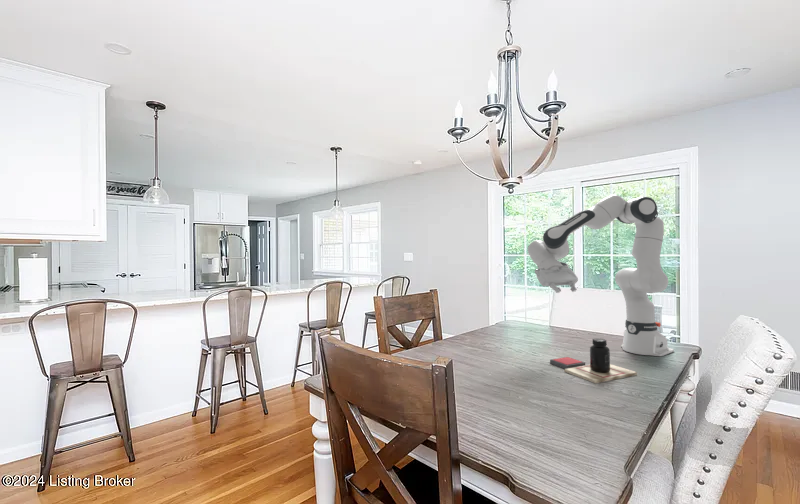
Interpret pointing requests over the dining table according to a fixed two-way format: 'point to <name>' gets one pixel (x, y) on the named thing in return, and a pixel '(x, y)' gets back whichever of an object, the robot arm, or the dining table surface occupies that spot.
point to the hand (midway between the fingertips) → (566, 291)
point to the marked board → (598, 377)
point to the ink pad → (567, 362)
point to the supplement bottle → (599, 356)
